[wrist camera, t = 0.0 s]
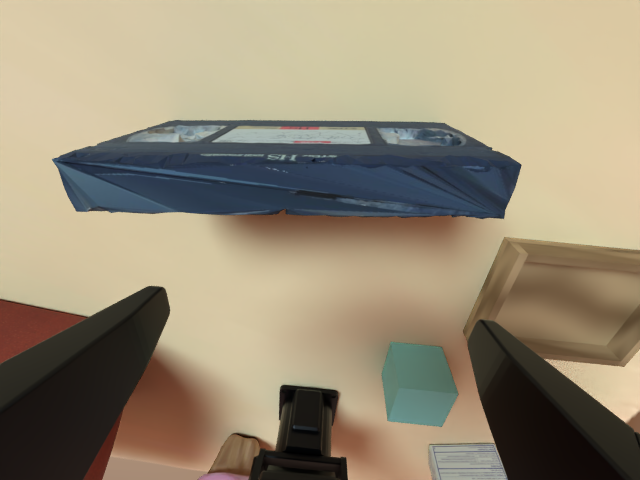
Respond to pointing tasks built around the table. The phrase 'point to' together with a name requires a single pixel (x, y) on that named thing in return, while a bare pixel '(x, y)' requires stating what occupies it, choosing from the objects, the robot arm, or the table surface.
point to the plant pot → (32, 328)
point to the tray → (565, 300)
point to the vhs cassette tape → (292, 170)
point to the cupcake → (234, 459)
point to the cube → (417, 384)
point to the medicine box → (465, 462)
